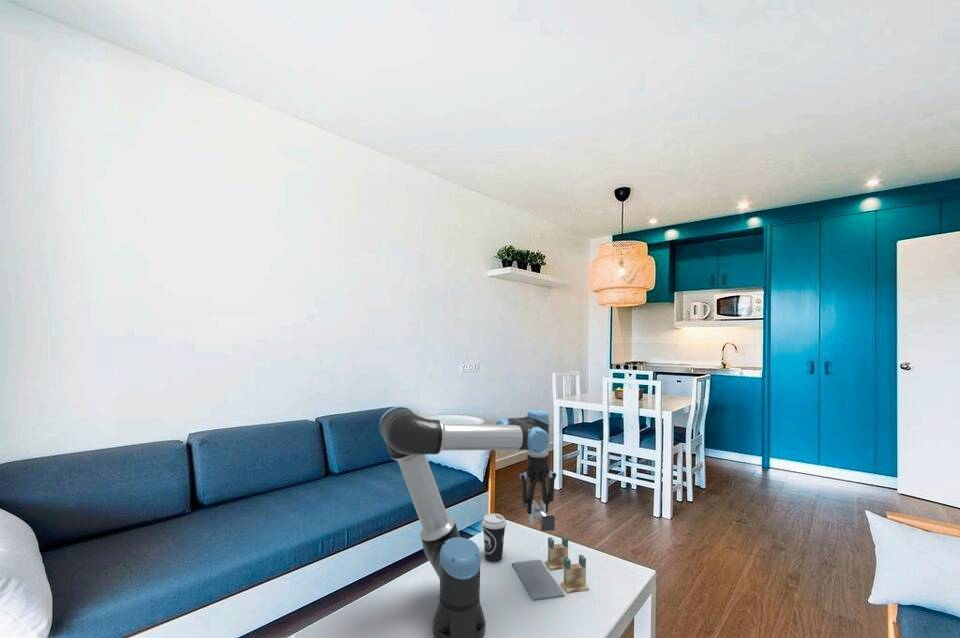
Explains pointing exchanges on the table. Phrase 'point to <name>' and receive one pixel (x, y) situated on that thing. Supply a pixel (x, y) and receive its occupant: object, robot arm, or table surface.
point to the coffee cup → (493, 536)
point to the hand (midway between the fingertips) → (537, 522)
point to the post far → (557, 553)
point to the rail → (542, 517)
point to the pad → (537, 580)
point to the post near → (574, 575)
